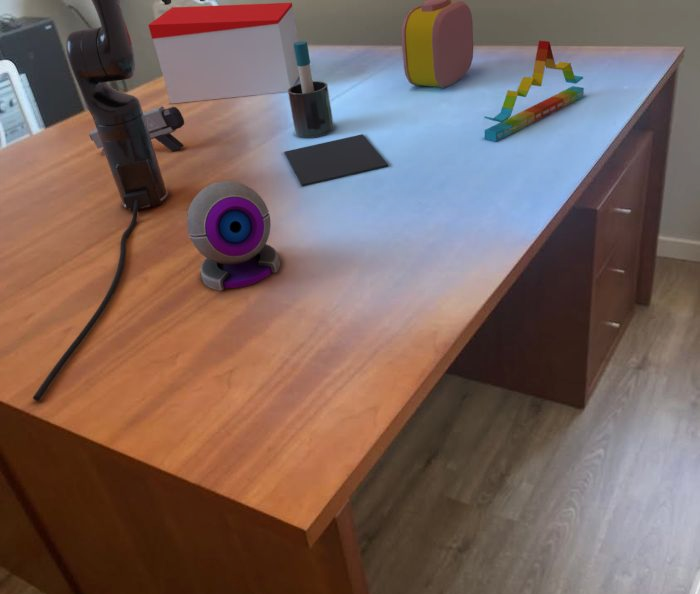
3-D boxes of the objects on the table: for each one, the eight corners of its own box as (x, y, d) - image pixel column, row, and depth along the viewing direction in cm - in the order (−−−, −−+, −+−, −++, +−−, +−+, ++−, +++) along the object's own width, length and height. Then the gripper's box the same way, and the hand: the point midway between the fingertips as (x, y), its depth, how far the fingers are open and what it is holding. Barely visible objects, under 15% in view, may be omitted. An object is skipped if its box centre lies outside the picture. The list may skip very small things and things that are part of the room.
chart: (496, 141, 149) (495, 66, 140) (484, 138, 151) (482, 64, 142) (584, 96, 163) (588, 25, 154) (572, 94, 165) (575, 24, 156)
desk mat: (388, 166, 146) (388, 164, 146) (302, 186, 144) (301, 184, 144) (362, 135, 162) (362, 134, 162) (284, 153, 160) (284, 151, 160)
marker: (321, 128, 168) (308, 42, 156) (309, 131, 167) (294, 45, 156) (319, 125, 170) (305, 40, 159) (306, 127, 170) (292, 42, 158)
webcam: (213, 299, 113) (187, 211, 104) (194, 265, 123) (169, 183, 114) (290, 273, 116) (271, 186, 107) (265, 242, 126) (247, 160, 117)
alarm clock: (440, 69, 195) (435, -10, 184) (476, 71, 189) (474, -10, 178) (403, 91, 184) (396, 9, 172) (441, 94, 178) (436, 9, 166)
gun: (192, 145, 168) (172, 104, 163) (108, 172, 178) (86, 134, 173) (197, 141, 170) (177, 100, 165) (113, 168, 180) (92, 130, 175)
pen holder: (337, 132, 166) (331, 88, 160) (299, 141, 165) (291, 97, 159) (329, 121, 173) (322, 78, 167) (292, 129, 172) (284, 86, 166)
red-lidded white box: (190, 81, 219) (171, 7, 207) (302, 69, 214) (290, -8, 201) (169, 104, 203) (147, 24, 191) (290, 91, 197) (275, 9, 185)
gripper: (126, -76, 150) (149, 9, 159) (189, -84, 146) (209, 2, 155) (142, -81, 155) (163, 1, 165) (203, -89, 152) (221, -5, 161)
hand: (185, 2), depth 160 cm, fingers open, 8 cm apart
